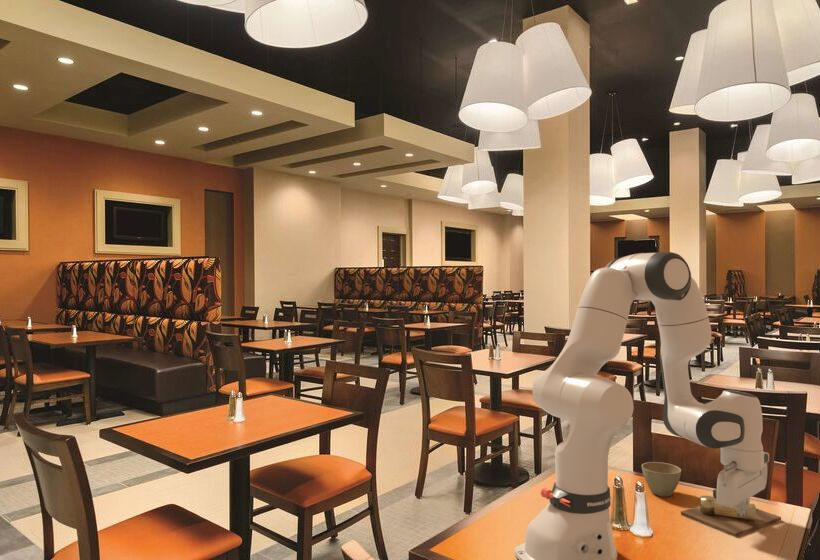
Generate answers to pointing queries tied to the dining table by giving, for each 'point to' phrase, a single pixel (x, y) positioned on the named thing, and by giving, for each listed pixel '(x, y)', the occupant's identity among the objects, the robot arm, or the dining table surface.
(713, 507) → the bar
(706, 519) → the brown wooden board
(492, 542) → the dining table surface
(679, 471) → the flower pot
